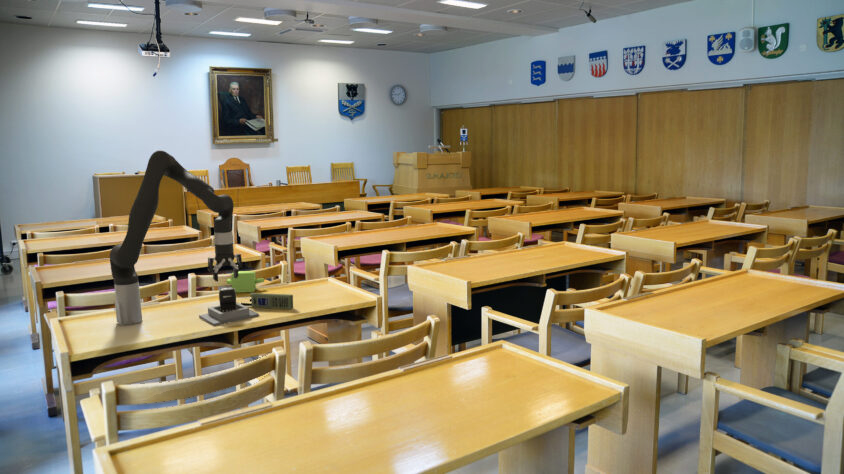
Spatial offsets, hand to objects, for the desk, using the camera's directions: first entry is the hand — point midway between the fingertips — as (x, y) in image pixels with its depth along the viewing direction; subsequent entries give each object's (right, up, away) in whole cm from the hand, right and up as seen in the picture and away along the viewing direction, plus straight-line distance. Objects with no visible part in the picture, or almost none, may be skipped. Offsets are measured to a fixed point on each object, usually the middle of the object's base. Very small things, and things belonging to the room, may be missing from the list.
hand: (226, 279), depth 267 cm
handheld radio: (+13, -14, +16) cm, 26 cm away
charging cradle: (0, -16, +3) cm, 17 cm away
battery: (0, -16, +3) cm, 16 cm away
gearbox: (-5, -9, +47) cm, 48 cm away
